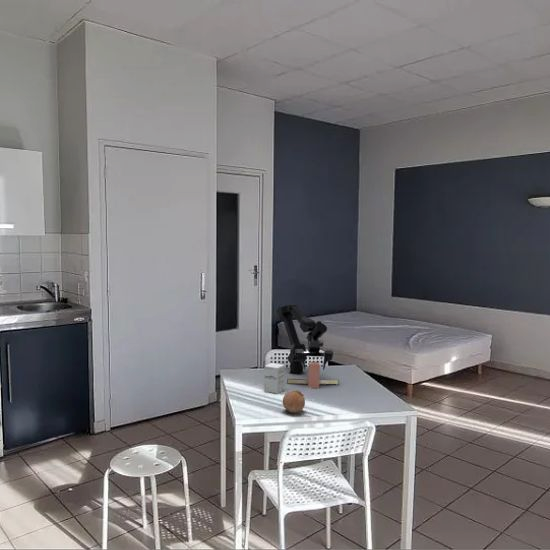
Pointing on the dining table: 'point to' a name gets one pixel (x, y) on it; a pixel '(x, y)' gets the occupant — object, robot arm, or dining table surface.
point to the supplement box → (274, 378)
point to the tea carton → (313, 374)
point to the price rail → (305, 381)
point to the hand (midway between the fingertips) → (314, 369)
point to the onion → (294, 402)
